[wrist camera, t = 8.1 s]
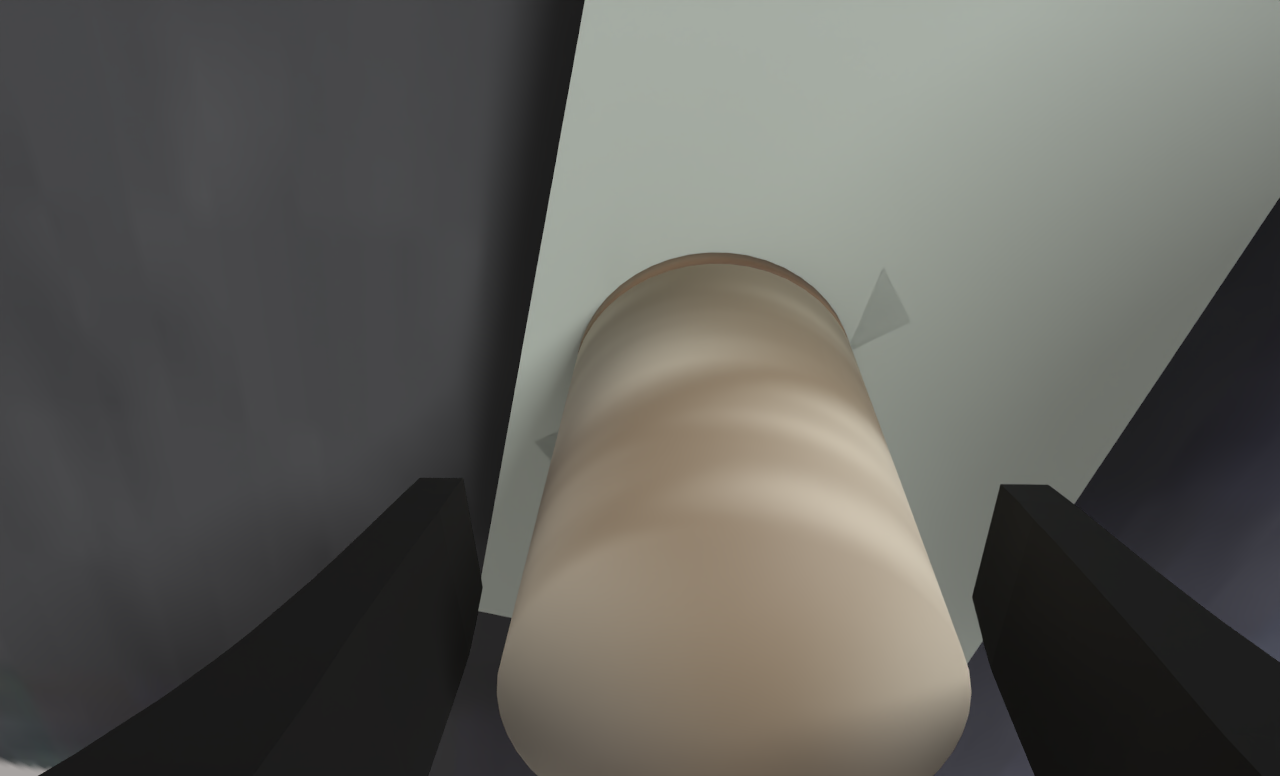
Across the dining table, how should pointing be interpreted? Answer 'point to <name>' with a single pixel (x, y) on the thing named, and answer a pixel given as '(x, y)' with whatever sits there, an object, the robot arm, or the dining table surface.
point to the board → (916, 217)
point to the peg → (726, 551)
